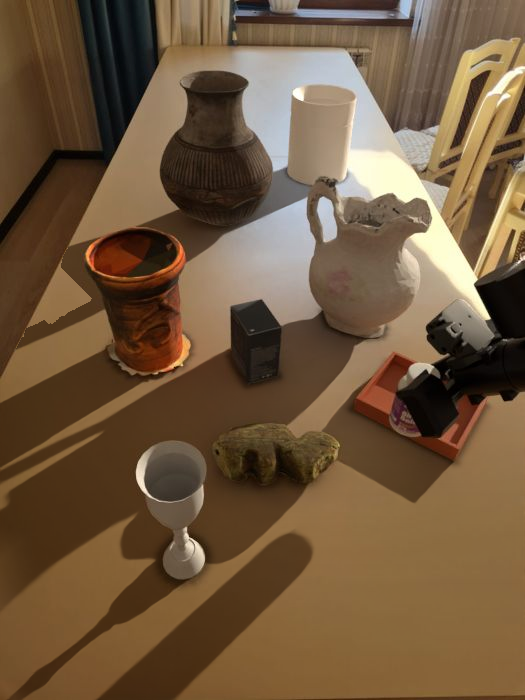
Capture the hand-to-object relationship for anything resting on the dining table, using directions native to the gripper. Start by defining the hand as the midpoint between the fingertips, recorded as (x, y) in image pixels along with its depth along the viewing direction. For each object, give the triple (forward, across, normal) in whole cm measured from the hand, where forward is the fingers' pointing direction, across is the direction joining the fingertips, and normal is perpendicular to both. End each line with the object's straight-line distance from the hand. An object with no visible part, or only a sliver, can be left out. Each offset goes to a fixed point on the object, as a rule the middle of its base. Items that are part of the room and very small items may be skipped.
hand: (410, 384), depth 70 cm
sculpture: (+16, +15, +2) cm, 21 cm away
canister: (+56, -62, -40) cm, 93 cm away
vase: (+56, -25, -39) cm, 73 cm away
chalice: (+14, +33, +4) cm, 36 cm away
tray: (+10, -9, +8) cm, 15 cm away
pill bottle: (+4, 0, +6) cm, 7 cm away
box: (+27, +3, -9) cm, 29 cm away
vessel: (+37, +14, -20) cm, 44 cm away
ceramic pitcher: (+25, -20, -8) cm, 33 cm away
